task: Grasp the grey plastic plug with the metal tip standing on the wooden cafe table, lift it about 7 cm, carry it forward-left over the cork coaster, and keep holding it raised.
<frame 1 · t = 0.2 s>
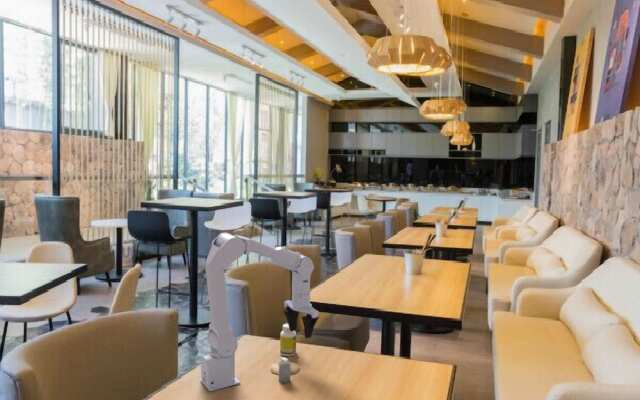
hand: (300, 333, 161), 10 cm above the table, tool pointing down, fingers open, 7 cm apart
plug: (284, 380, 150), on the table
coaster: (284, 368, 158), on the table
supplement bottle: (288, 353, 170), on the table
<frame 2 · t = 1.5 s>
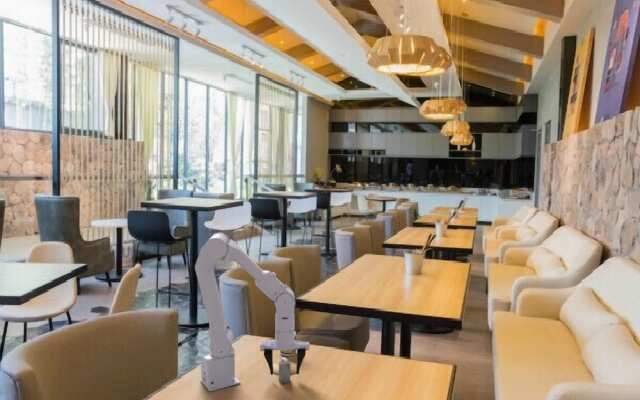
hand: (284, 373, 150), 2 cm above the table, tool pointing down, fingers open, 7 cm apart
nothing on the table moved.
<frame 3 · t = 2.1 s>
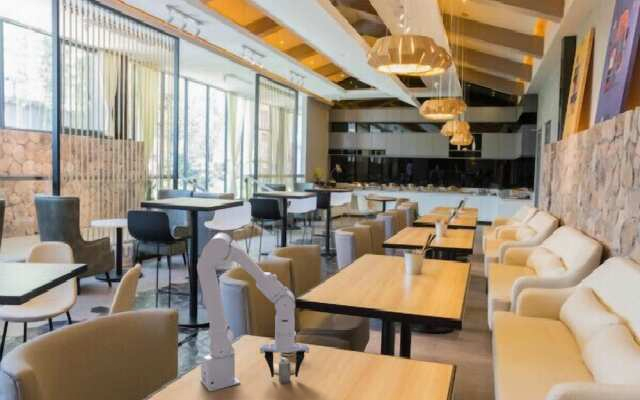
hand: (284, 375, 150), 2 cm above the table, tool pointing down, fingers open, 6 cm apart
nothing on the table moved.
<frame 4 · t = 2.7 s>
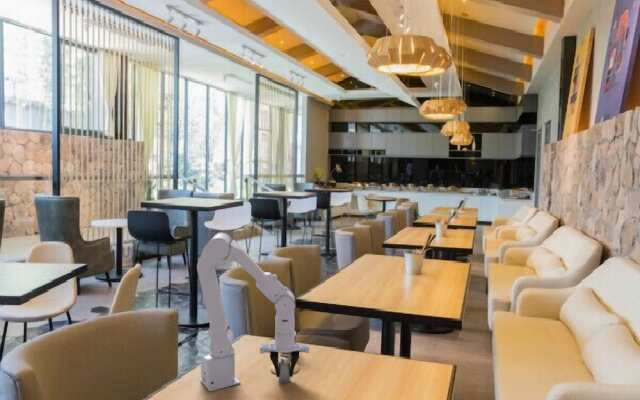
hand: (284, 375, 150), 2 cm above the table, tool pointing down, fingers closed on plug, 3 cm apart
plug: (284, 380, 150), on the table, touching gripper
everything else where it was.
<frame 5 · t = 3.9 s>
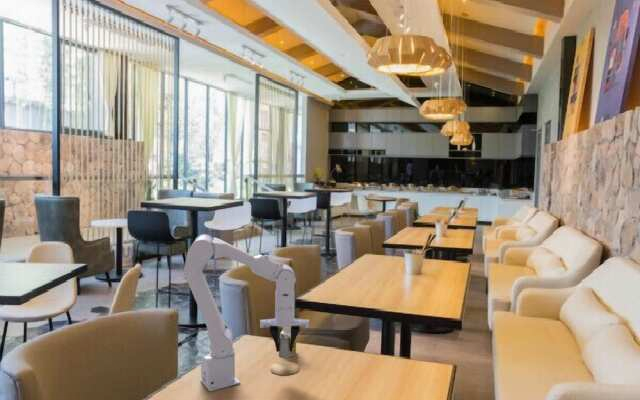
hand: (284, 350, 151), 9 cm above the table, tool pointing down, fingers closed on plug, 3 cm apart
plug: (284, 355, 151), point 7 cm above the table, touching gripper
everything else where it was.
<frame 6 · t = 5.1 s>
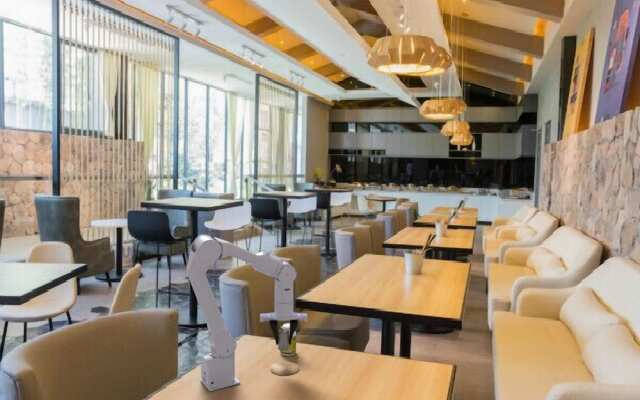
hand: (283, 343, 156), 9 cm above the table, tool pointing down, fingers closed on plug, 3 cm apart
plug: (283, 348, 156), point 7 cm above the table, touching gripper
everything else where it was.
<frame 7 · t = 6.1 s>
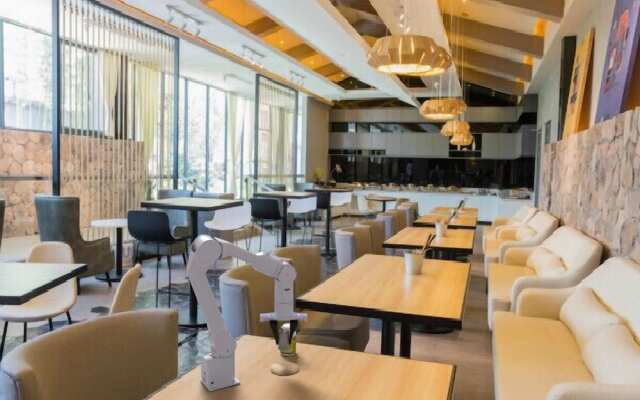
hand: (283, 343, 156), 9 cm above the table, tool pointing down, fingers closed on plug, 3 cm apart
plug: (283, 348, 156), point 7 cm above the table, touching gripper
everything else where it was.
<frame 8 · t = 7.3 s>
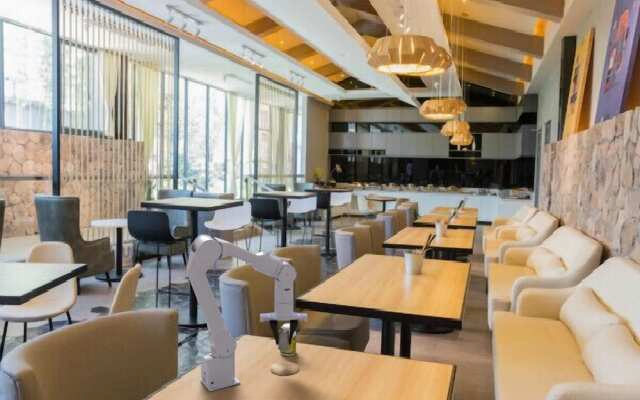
hand: (283, 343, 156), 9 cm above the table, tool pointing down, fingers closed on plug, 3 cm apart
plug: (283, 348, 156), point 7 cm above the table, touching gripper
everything else where it was.
at the end: the gripper is holding plug; plug point 7.2 cm above the table; plug inside the target area (0.0 cm from its centre), point 7.2 cm above the table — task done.
